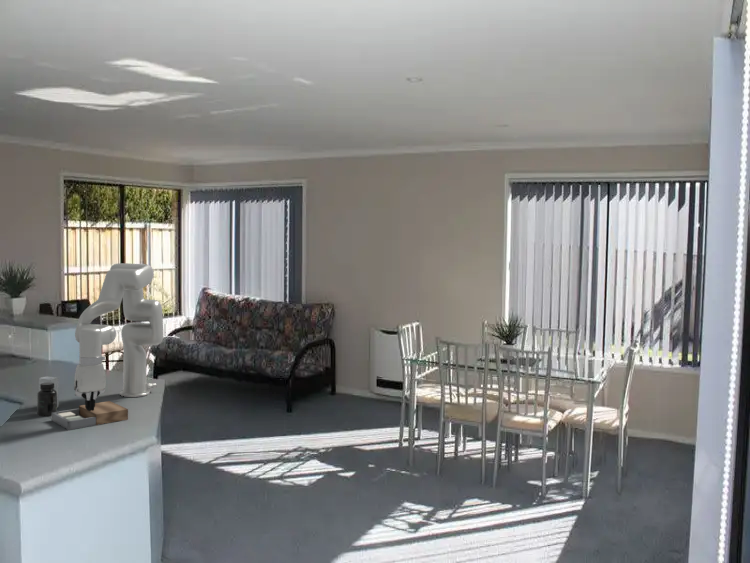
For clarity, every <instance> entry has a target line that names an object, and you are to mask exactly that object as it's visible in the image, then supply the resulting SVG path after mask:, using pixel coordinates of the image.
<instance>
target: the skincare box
mask: <svg viewBox="0 0 750 563" xmlns="http://www.w3.org/2000/svg"><path fill="white" fill-rule="evenodd" d="M46 382H52V383H54V390H56V391H57V408H58V407H59V377H58V376H57V377H55V376H54V377H53V376H42V377H39V378H38V392H39V391H40V390H41V389H40V384H41V383H46Z"/></svg>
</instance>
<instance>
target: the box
mask: <svg viewBox="0 0 750 563" xmlns="http://www.w3.org/2000/svg"><path fill="white" fill-rule="evenodd" d="M65 412H72V413H74V414H75V416H80V415H79V407H78V408H73V409H67V410H61V411H57V412H52V416H51V421H52V422H53V423H56V424H57V425H59V426H60V425H61V426H60V427H62V428H64V429H65V428H66V430H67V431H71V430H76V429H83V428H88V427H87V426H89V427H93V425H94V426H97V425H96V417H89V418H84V417H82V416H80V417H82V418H84V419H78V420H72V421H70V420H68V419H66V418H64V417H62V416H60V415H59V413H65ZM82 427H83V428H82Z"/></svg>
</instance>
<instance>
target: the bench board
mask: <svg viewBox="0 0 750 563" xmlns="http://www.w3.org/2000/svg"><path fill="white" fill-rule="evenodd" d="M78 408H79V415H80V416H82V417H84V418H89V417H96V425H95V426H99V425H98V424H100V425H105V424H109V423H117V422H121V421H122V422H123V421H127V420H129V408H126V407H124V406H122V405H120V404H118V403H115V402H112V401H111V400H107V401H101V402H95V407H94V410H93V411H92V410H91V411H88V410H86V408H85V404H82V405H81V404H80V405H79V406H78ZM104 423H105V424H104Z"/></svg>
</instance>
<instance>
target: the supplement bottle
mask: <svg viewBox="0 0 750 563" xmlns="http://www.w3.org/2000/svg"><path fill="white" fill-rule="evenodd" d="M40 389H41V390H40V391H39V390H38V392H37V395H36V396H37V397H36V398H37V400H36V402H37V403H36V405H37V407H36V412H37V416H39V417H52V412H58V407H57V391H56V390H54V383H52V382H46V383H41V384H40Z"/></svg>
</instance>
